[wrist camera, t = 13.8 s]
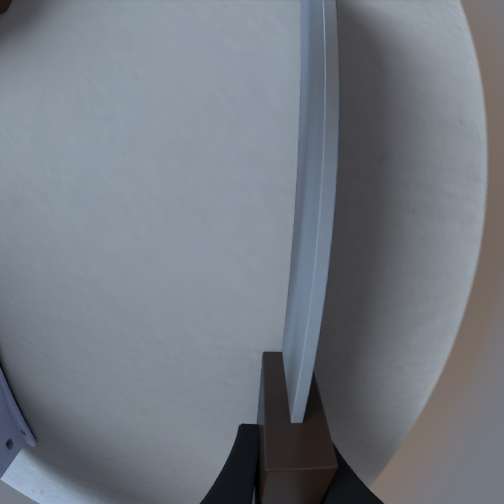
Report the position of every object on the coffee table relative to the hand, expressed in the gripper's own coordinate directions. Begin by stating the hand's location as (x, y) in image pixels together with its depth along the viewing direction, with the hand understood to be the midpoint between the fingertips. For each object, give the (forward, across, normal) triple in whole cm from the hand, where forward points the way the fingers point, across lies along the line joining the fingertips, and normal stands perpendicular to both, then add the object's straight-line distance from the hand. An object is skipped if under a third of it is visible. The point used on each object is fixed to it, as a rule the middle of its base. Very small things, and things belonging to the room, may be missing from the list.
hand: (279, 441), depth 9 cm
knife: (+1, 0, -7) cm, 7 cm away
